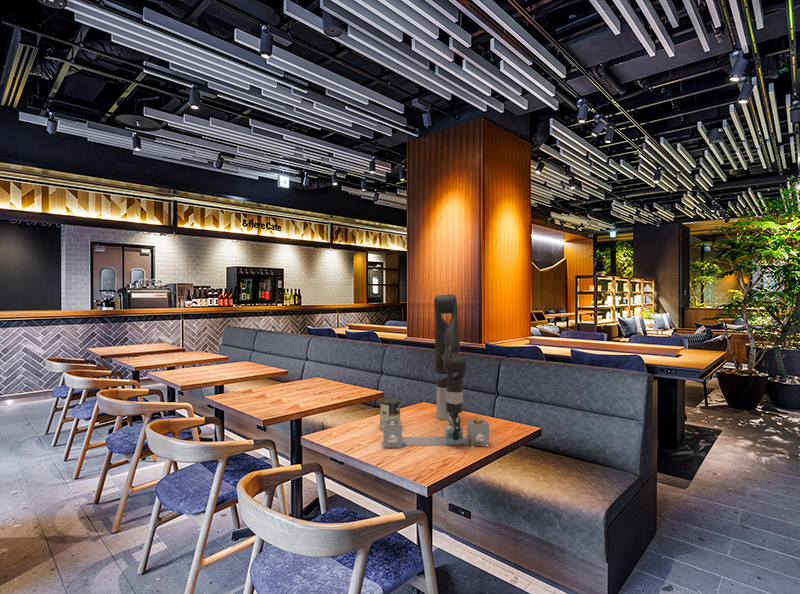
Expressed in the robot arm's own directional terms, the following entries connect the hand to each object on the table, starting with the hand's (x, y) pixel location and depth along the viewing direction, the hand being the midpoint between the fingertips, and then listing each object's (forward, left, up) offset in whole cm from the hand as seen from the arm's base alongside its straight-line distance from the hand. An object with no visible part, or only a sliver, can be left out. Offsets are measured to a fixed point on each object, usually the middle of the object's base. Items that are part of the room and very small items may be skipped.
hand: (453, 436), depth 188 cm
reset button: (0, +11, +5) cm, 12 cm away
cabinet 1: (0, -28, -3) cm, 28 cm away
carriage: (0, 0, -2) cm, 2 cm away
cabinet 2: (0, +11, -3) cm, 11 cm away
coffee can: (-23, -28, -3) cm, 36 cm away
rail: (0, -9, -3) cm, 10 cm away
